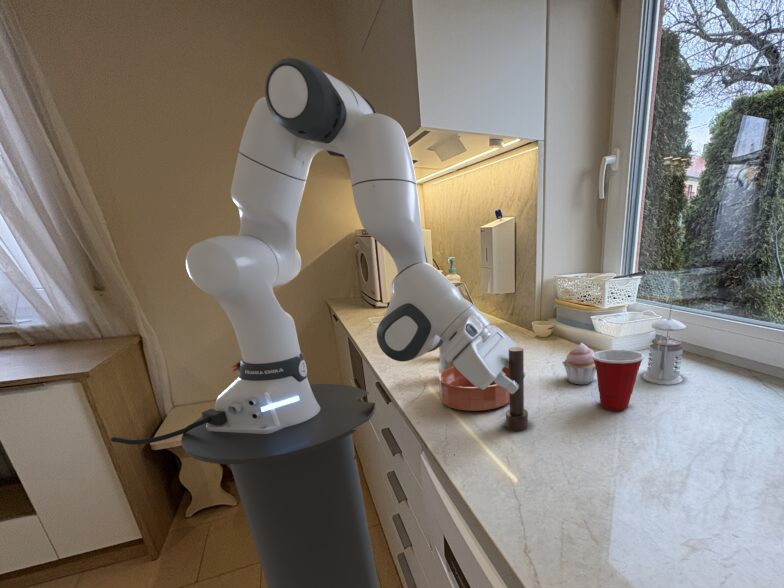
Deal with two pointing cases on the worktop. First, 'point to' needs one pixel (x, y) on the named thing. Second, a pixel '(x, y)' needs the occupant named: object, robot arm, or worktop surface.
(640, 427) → the worktop surface
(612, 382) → the plastic cup
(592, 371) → the cupcake
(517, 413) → the stirring stick
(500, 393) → the bowl
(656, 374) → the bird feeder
